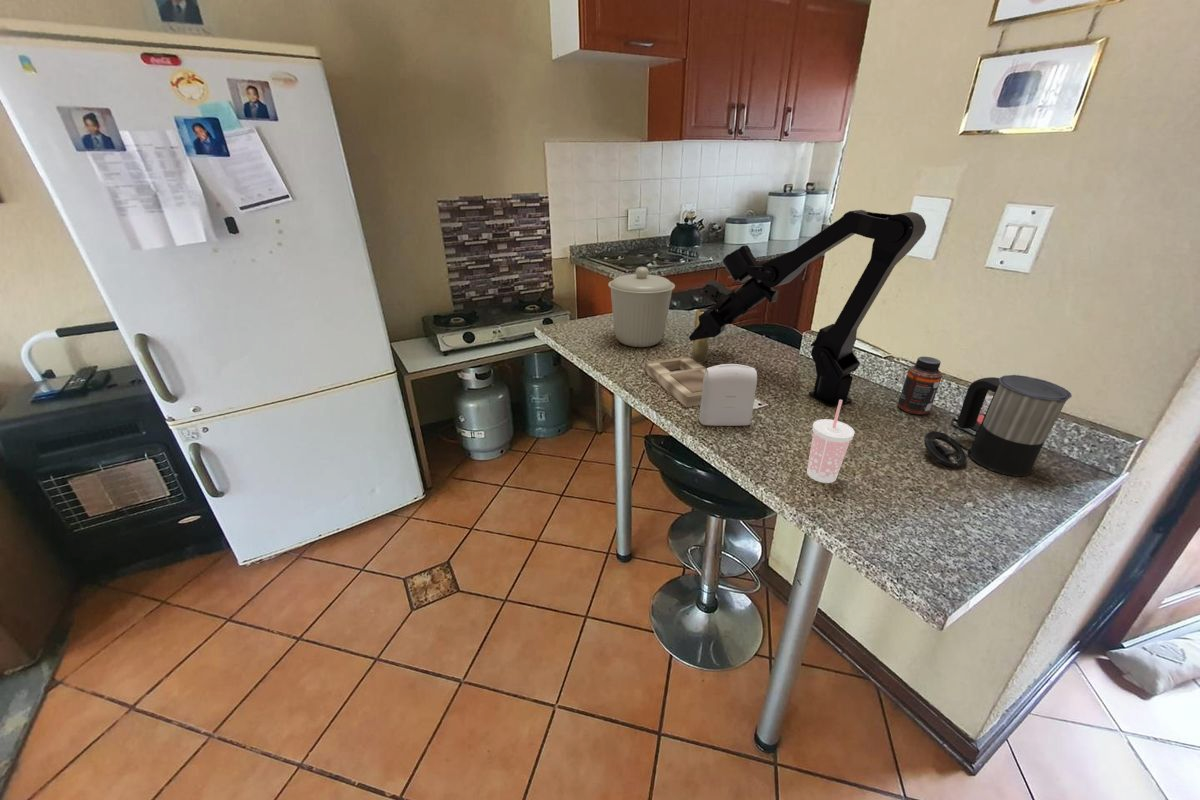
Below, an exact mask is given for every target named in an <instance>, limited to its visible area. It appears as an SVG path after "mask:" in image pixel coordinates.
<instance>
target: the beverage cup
mask: <svg viewBox="0 0 1200 800" xmlns="http://www.w3.org/2000/svg"><path fill="white" fill-rule="evenodd" d="M842 401H843V400H839V403H838V405H837V407H836V412H835V415H834V418H833V419H829V418H826V419H825V418H823V419H817V420H815V421H813V424H812V428H811V429H812V438H811V445H810V451H809V456H808V463H807V469H806V473H807V476H808V477H809V478H810V479H813V480H814V481H816V482H819V483H822V484H831V483H834V482H835V481H837V477H838V475H839V472H840V469H841V467H842V464H843V462H844V458H845V457H846V453H847V450H848V448H849V445H850V442H851V441H853V439H854V435H855V433H856V432H855V430H854V428H853V427H852V426H850V425H849V424H847V423H845V422H842V421H840V420H839V415H840V412H841V408H842V405H843V404H842Z"/></svg>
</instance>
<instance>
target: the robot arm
mask: <svg viewBox="0 0 1200 800" xmlns="http://www.w3.org/2000/svg"><path fill="white" fill-rule="evenodd" d="M926 228H927V224H926V221H925V219H924V216H922V215H921V214H919V213H917V212H914V211H909V212H903V213H895V214H890V213H880V212H871V211H867V210H864V209H857V210H850V211H846V212H845V213H844V214H843V215H842V216H841V217H839V219H837V220H836V221H834V222H833V223H832V224H830V225H829V226H827V227H825V228H824V229H822V230H821V231H819V232H818V233H816V234H815V235H814V236H812V237H811V238H809V239H808V240H807V241H805V242H804V243H802V244H801V245H799V246H798V247H796V248H795V249H794V250H791V251H787V252H786V253H784V254H783V253H782V254H781V255H779V256H776V257H774V258H772V259H770V260H767V261H764V262H760V263H759V262H758V260H757V259H756V258H755V256H754V254H753V253H752V251H751V249H750V247H749V245H748V244H746V245H741V246H740V247H738V248H737V249H736V250H734V251H732V252H731V253H729V254H727V255H726V256H725V257H724V258H723V259H722V261H721V262H722V264H723V265H724V268H725V269H726V270H727V272H728V273H729V275H730V277H731V278H732V280H733V281H734V282H735V283H736V282H740V283H741V284H742V283H743V284H742V285H741V286H740V287H738V288H735V289H733V290H730V289H728V288H727V287H726V286H725V285H723V284H722V283H721V282H719V281H717V280H715V279H710V280H708V281H707V282H706V284H705V286H703V287H702V290H701V293H700V294H701V295H702V296H703V297H706V298H707V299H709V300H710V301H712V302H713V303H715V304H714V305H713V307H715V309H712V308H708V310H707V311H705V312H704V313H702V314H701V315H700V316H699V325H698V327H697V328H696V329H695V330H694V329H693V331H692V333H691V334H690V335H689V336H688V339H689V340H690V341H691V342H693V340H698V339H703V338H709V339H710V338H716V337H718V336H719V335H720V334H722V333H723V332H724V331H725V329H726V325H730V324H732V323H734V322H735V321H736V320H738V319H739V318H741V317H742V316H744V315H746V314H747V312H749V311H750V310H751V309H753V308H754V307H756V306H757V305H759V304H760V303H761V302H763V301H764V300H765V299H767V301H768V303H775V302H777V301H778V294H779V290H777V289H774V288H776V287H779V286H781V285H785V284H789V283H790V282H791V281H793V280H794V279H796V278H797V277H798V276H799V275H800V274H801V273H802V272H803V270H804V269H805V268H806V267H807V266H808V265H810V263H812V262H813V261H815V260H816V259H818V258H820V257H821V256H823V255H824V254H825V253H828V252H829V251H830V250H832V249H834V248H835V247H837V246H838V245H840V244H842V242H845V241H846V240H848V239H850V238H851V237H852V236H854V235H858V236H861V237H864V238H868V239H872V240H873V242H872V247H871V254H870V259H869V262H868V263H867V265H866V266H865V269H864V271H862V273H861V276H860V277H859V279H858V281H857V283H856V285H855V286H854V288H853V291H852V292H851V293H850V296H849V297H848V299H847V301H846V303H845V304H844V306H843V308H842V310H841V311H840V313H839V315H838V317H837V318H836V320H835V321H834V323H832V324H829V325H827V326H824V327H822V328H820V329H819V330H818V332H817V334H816V338H815V340H814V341H813V342H812V343H811V344H810V346H811V347H812V349H811V351H810V356H811V358H812V360H813V362H814V366H815V373H816V374H815V375H816V378H815V383H814V387H813V391H810V392H808V396H810V397H812V398H813V399H815V400H817V401H819V402H820V403H822V404H824V405H826V406H828V407H834V406H838V403H839V400H843V401H842V405H844V404H849V403H852V400H853V399H852V398H850V397H849V393H850V391H851V390H850V389H851V386H852V382H853V376H852V374H851V373H853V372H856V371H857V369H858V368H859V366H861V362H860V361H859V359H858V358H857V356H856V354H855V353H854V352H853V349H854V346H855V343H856V340H857V333H858V329H859V327H860V325H861V323H863V322H862V321H863V320H864V319H865V317H866V315H867V314H868V312H869V310H870V309H871V307H872V305H873V303H874V301H875V300H876V299H877V297H878V294H879V293H880V291H882V289H883V287H884V285H885V284H886V281H887V280H888V278H889V276H890V275H891V273H892V271H893V269H894V268H895V266H897V264H898V263H900V261H901V260H903V258H905V257H906V255H907V254H908V253H909V252H911V250H913V248H914V247H915V246H916V244H917V243H918V242H919V241H921V239H922V238H923V236H924V234H925V233H926V230H927V229H926Z"/></svg>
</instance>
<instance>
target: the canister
mask: <svg viewBox="0 0 1200 800" xmlns="http://www.w3.org/2000/svg"><path fill="white" fill-rule="evenodd" d="M649 271H650V270H649V269H648V268H647V267H646V266H638V267H637V268H636V269H635V274H634V273H633V274H625V275H620V276H617V277H615V278H614V279H612V280H611V281H609V282H608V284H607V285H608V287H609V289H610V298H611V307H612V308H611V309H612V320H613V327H614V328H613V329H614V334H615V337H616V339H617V340H618V342H620V343H621V344H622V345H625V346H628V347H634V348H647V347H652V346H656V345H657V344H659V343H660V342H661V341H662V339H663V336H664V334H665V330H666V325H667V320H668V315H669V310H670V304H671V299H672V293H673V290H675V287H676V285H675V283H674V282H672V281H670V280H669V279H668V278H666V277H664V276H661V275H654V274H650V273H649Z"/></svg>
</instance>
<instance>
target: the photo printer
mask: <svg viewBox="0 0 1200 800" xmlns="http://www.w3.org/2000/svg"><path fill="white" fill-rule="evenodd" d="M757 384H758V372H757V370H756V368H754V367H752V366H749V365H745V364H744V365H743V364H737V363H723V364H717V365H716V364H715V365H713V366H710V367H707V368H706V370H705V375H704V378H703V387H702V397H701V405H700V408H699V417H698V418H699V419H698V421H699V423H700V424H701V425H703V426H716V427H717V426H721V427H722V426H724V427H725V426H731V427H732V426H735V427H736V426H739V427H740V426H750V425H751V422H752V415H753V409H754V404H755V399H756V398H755V396H756V392H757V391H756V390H757Z"/></svg>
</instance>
